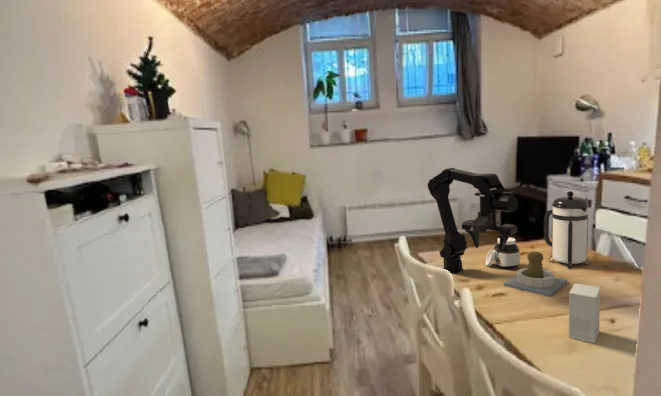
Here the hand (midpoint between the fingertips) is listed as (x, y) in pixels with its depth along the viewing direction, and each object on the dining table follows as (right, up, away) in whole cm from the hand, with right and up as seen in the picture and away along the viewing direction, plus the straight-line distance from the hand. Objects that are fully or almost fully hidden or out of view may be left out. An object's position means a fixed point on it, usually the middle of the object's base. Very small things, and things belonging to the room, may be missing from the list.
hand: (488, 249), depth 148 cm
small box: (+11, -19, -38) cm, 44 cm away
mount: (+16, -12, -2) cm, 20 cm away
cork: (+16, -11, -2) cm, 20 cm away
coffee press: (+39, -8, +17) cm, 43 cm away
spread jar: (+13, -10, +19) cm, 24 cm away
